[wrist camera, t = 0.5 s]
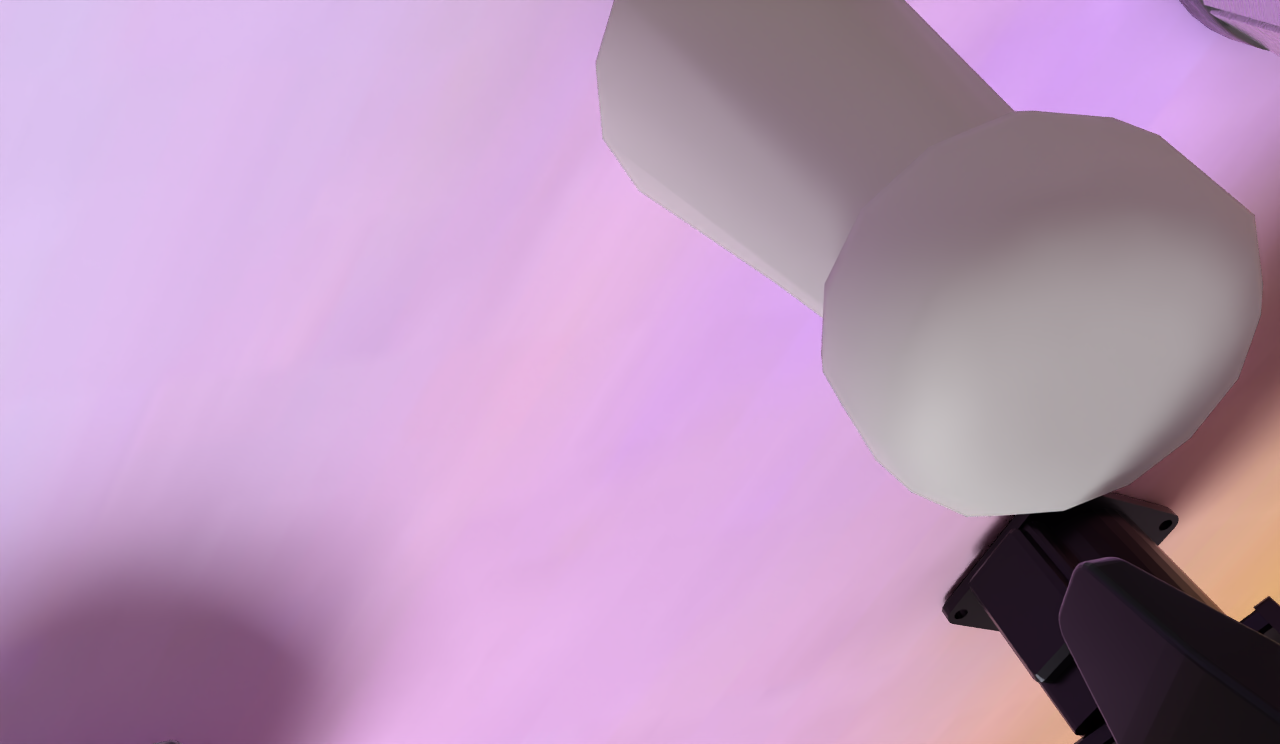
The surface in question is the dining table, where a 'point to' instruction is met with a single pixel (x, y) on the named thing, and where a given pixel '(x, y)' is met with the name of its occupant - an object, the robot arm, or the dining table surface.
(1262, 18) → the faceted metal bowl
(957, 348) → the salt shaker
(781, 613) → the dining table surface
